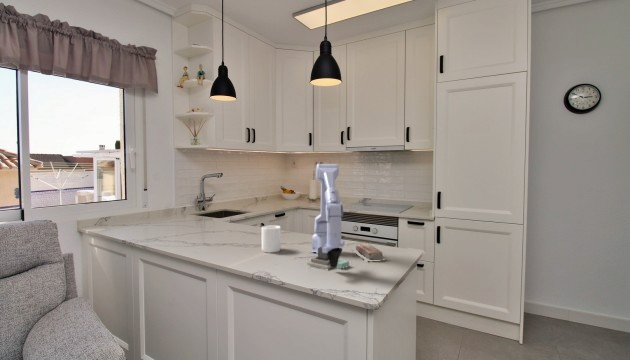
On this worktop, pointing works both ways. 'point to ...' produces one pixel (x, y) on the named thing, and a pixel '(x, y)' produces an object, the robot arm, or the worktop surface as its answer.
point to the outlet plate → (320, 263)
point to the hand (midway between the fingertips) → (333, 266)
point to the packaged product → (369, 251)
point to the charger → (322, 254)
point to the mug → (271, 238)
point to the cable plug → (342, 263)
